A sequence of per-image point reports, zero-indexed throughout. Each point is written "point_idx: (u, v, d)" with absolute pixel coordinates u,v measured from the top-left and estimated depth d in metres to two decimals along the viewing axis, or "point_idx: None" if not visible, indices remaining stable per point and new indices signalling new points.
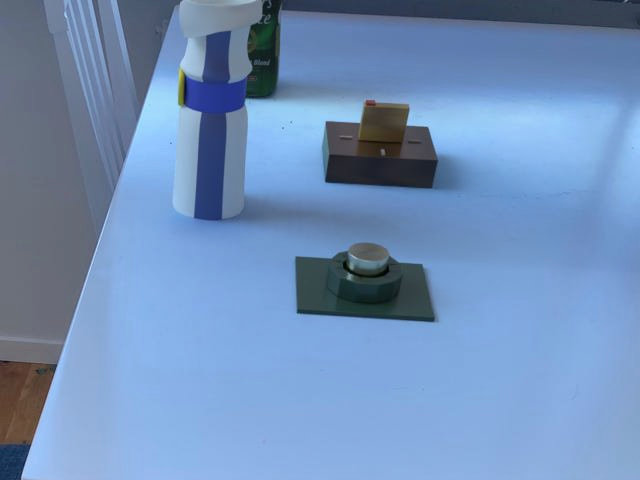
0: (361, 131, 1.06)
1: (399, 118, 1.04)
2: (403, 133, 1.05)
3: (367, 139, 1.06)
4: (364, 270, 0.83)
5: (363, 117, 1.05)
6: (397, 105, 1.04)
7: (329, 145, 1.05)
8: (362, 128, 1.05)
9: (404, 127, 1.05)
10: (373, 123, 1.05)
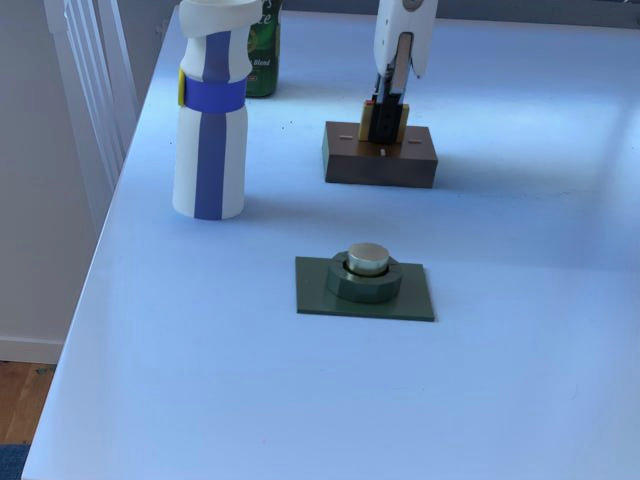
0: (361, 131, 1.06)
1: None
2: (403, 133, 1.05)
3: (367, 139, 1.06)
4: (364, 270, 0.83)
5: (363, 117, 1.05)
6: None
7: (329, 145, 1.05)
8: (362, 128, 1.05)
9: (404, 127, 1.05)
10: None
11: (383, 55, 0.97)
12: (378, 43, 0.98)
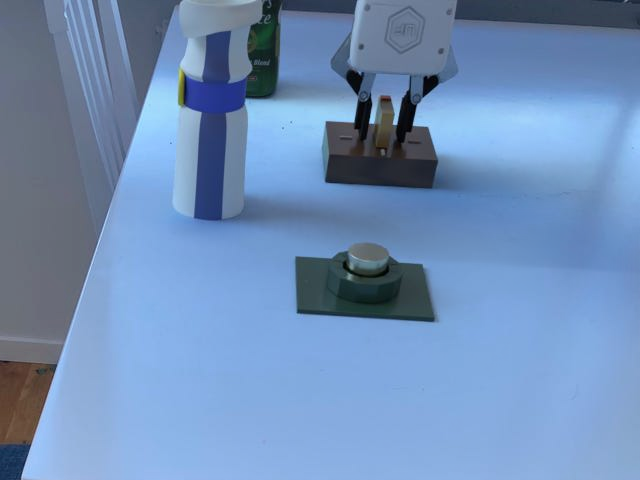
0: (374, 122, 1.08)
1: (379, 119, 1.04)
2: (377, 137, 1.04)
3: (373, 132, 1.08)
4: (364, 270, 0.83)
5: (377, 108, 1.07)
6: (387, 108, 1.03)
7: (329, 145, 1.05)
8: None
9: (378, 131, 1.04)
10: (376, 117, 1.06)
11: None
12: None
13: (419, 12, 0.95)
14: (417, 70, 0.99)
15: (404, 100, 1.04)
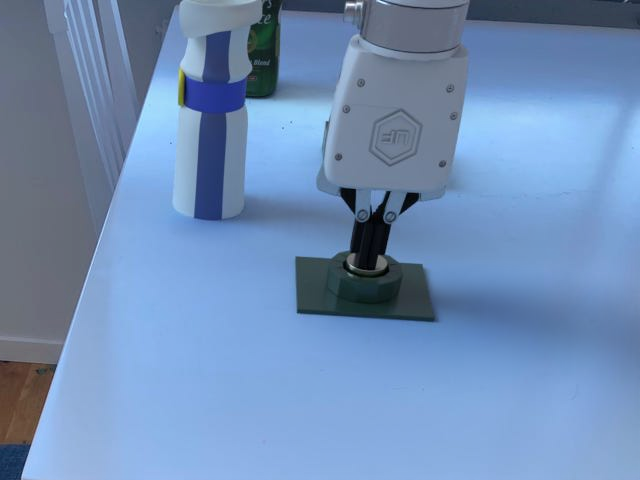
0: None
1: None
2: None
3: None
4: None
5: None
6: None
7: None
8: None
9: None
10: None
11: None
12: None
13: (414, 116, 0.72)
14: (411, 186, 0.76)
15: (375, 216, 0.81)
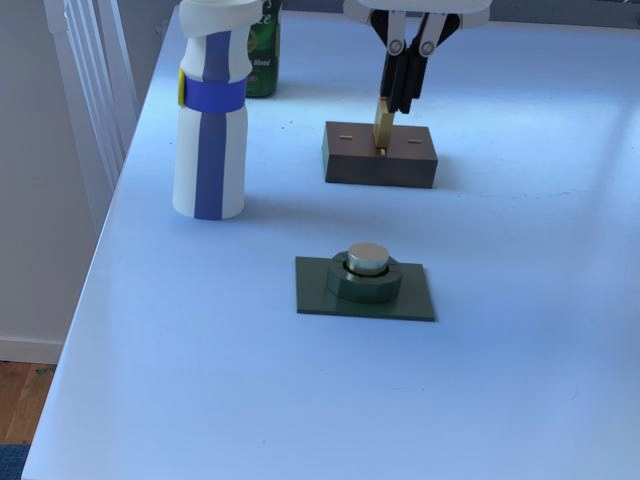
0: (374, 122, 1.08)
1: (379, 119, 1.04)
2: (377, 137, 1.04)
3: (373, 132, 1.08)
4: (364, 270, 0.83)
5: (377, 108, 1.07)
6: None
7: (329, 145, 1.05)
8: None
9: (378, 131, 1.04)
10: (376, 117, 1.06)
11: None
12: None
13: None
14: (453, 5, 0.67)
15: (409, 51, 0.72)
